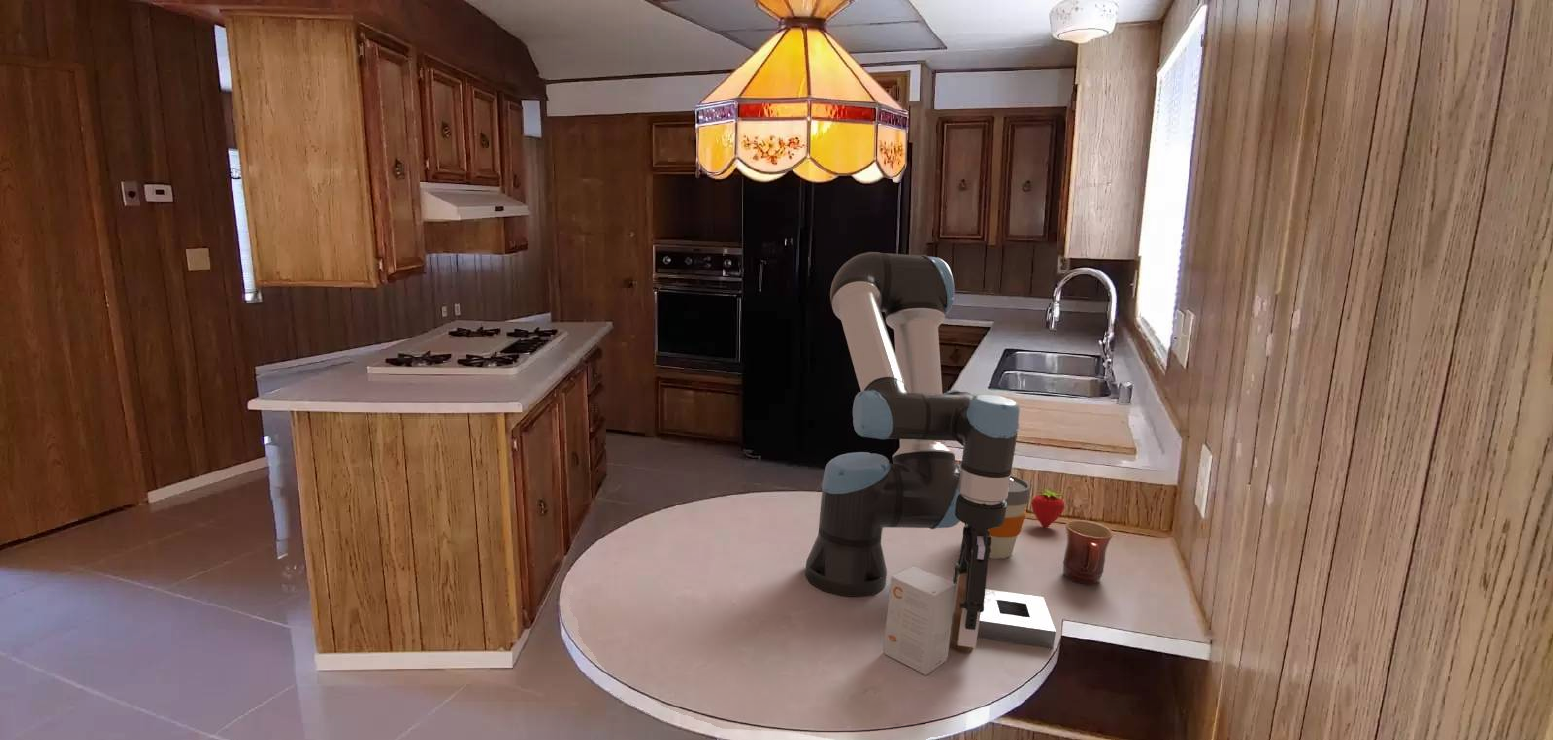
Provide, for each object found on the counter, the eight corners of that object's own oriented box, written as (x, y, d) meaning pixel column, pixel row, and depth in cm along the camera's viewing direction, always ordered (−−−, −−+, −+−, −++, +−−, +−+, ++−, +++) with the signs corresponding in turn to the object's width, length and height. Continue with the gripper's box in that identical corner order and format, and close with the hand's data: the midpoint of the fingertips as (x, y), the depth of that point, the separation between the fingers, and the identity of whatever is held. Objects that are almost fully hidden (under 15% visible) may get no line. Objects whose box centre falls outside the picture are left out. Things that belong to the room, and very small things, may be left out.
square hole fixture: (950, 633, 132) (957, 583, 130) (946, 599, 144) (952, 553, 142) (1053, 648, 130) (1061, 597, 128) (1040, 612, 142) (1048, 565, 140)
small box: (947, 661, 124) (958, 583, 121) (925, 676, 119) (935, 596, 116) (904, 639, 129) (913, 564, 126) (881, 653, 124) (890, 576, 122)
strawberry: (1023, 521, 185) (1029, 480, 183) (1053, 522, 186) (1059, 481, 184) (1035, 532, 179) (1042, 490, 177) (1066, 532, 180) (1073, 490, 178)
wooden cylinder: (950, 651, 126) (960, 581, 124) (949, 639, 130) (958, 571, 128) (973, 655, 126) (983, 584, 124) (972, 643, 129) (981, 574, 127)
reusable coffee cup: (1025, 566, 161) (1035, 495, 158) (961, 557, 162) (971, 487, 159) (1016, 541, 173) (1026, 475, 170) (957, 533, 174) (966, 468, 171)
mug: (1055, 564, 162) (1062, 517, 160) (1100, 571, 161) (1108, 524, 159) (1063, 591, 151) (1072, 540, 149) (1112, 598, 149) (1121, 547, 147)
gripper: (1017, 526, 112) (995, 670, 116) (998, 476, 133) (981, 599, 138) (962, 519, 113) (943, 662, 117) (953, 470, 134) (937, 593, 139)
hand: (964, 628), depth 127 cm, fingers open, 9 cm apart
